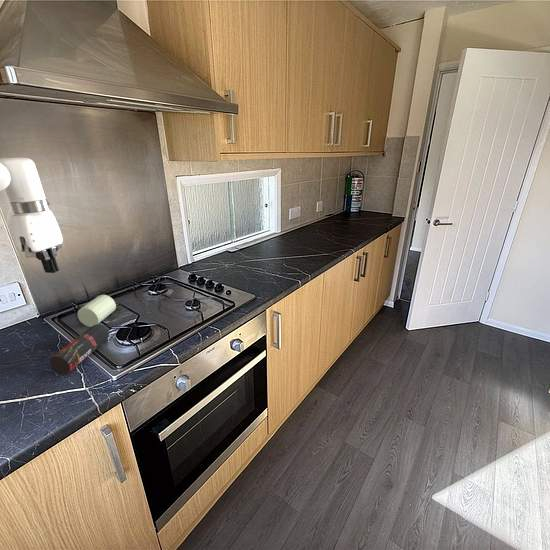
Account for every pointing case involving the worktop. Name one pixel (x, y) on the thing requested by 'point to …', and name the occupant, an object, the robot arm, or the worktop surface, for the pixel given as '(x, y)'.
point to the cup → (96, 310)
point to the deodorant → (79, 349)
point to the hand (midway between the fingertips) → (52, 271)
